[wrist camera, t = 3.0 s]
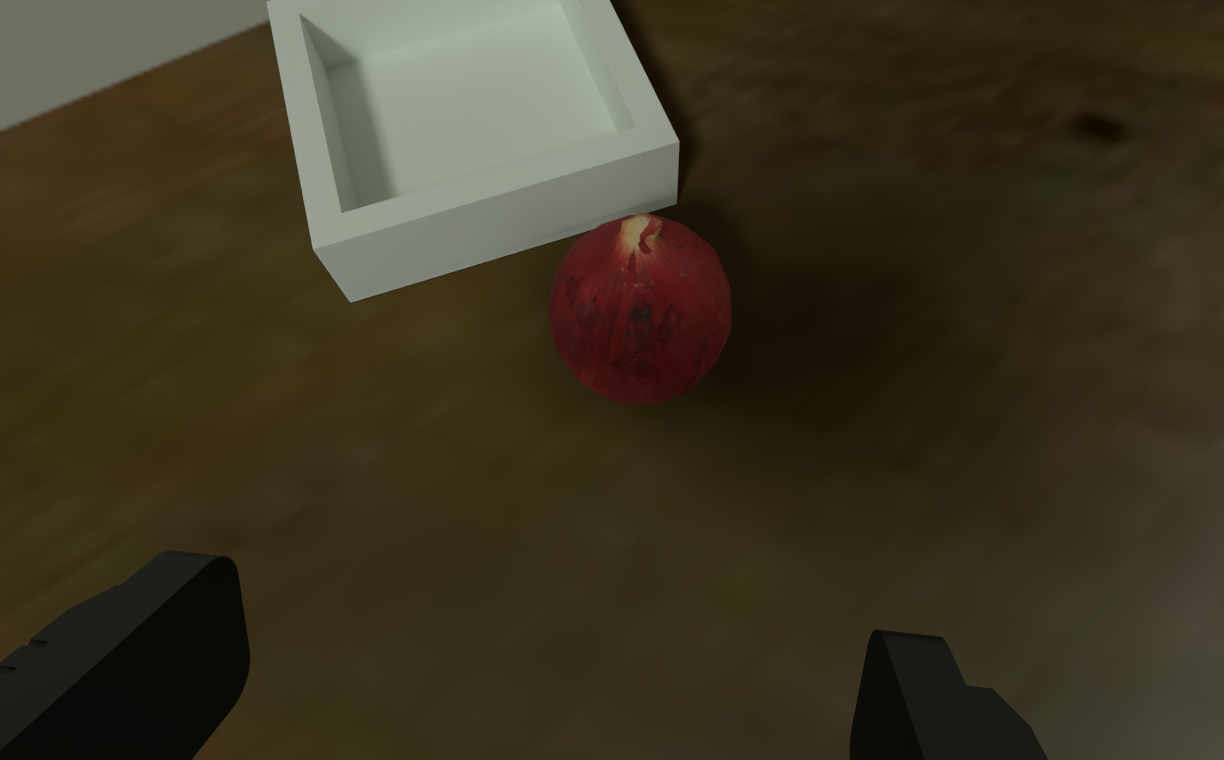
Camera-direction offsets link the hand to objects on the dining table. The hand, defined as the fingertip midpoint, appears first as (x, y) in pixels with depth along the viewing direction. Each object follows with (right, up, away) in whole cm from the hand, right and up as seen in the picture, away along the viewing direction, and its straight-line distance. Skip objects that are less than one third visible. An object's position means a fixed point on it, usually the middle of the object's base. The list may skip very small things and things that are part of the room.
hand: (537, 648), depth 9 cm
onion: (+2, +4, +18) cm, 18 cm away
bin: (-5, +14, +23) cm, 27 cm away
